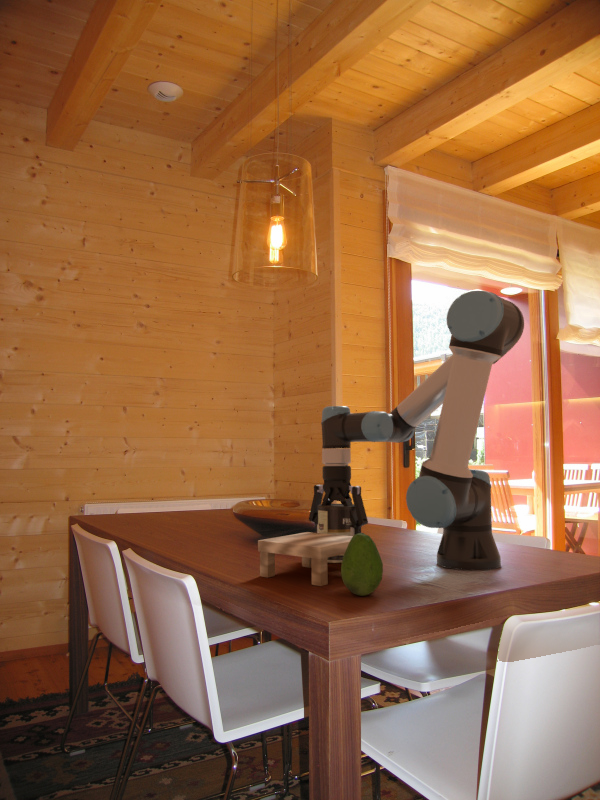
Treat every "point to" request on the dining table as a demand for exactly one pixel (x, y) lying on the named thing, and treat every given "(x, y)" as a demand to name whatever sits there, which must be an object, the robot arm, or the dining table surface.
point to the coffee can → (334, 523)
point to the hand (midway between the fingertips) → (338, 550)
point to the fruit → (361, 565)
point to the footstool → (303, 552)
